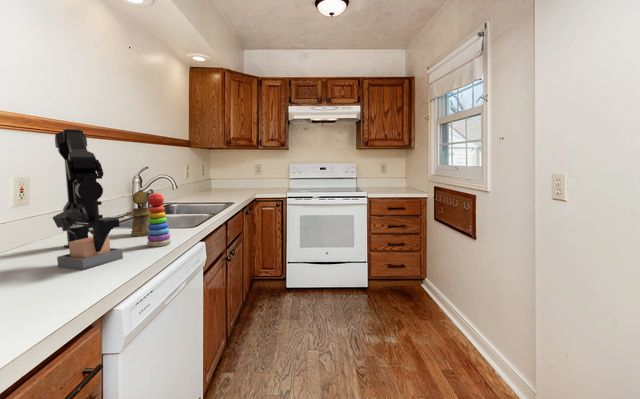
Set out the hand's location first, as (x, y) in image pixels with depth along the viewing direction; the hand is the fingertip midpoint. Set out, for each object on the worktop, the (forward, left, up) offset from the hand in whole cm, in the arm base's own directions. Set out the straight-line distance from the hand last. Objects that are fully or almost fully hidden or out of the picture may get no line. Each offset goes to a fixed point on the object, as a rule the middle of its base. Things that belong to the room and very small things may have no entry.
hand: (90, 250), depth 102 cm
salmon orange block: (0, 0, -1) cm, 1 cm away
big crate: (0, 0, -4) cm, 4 cm away
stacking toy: (+2, +24, -4) cm, 24 cm away
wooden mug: (-21, +38, -4) cm, 44 cm away
